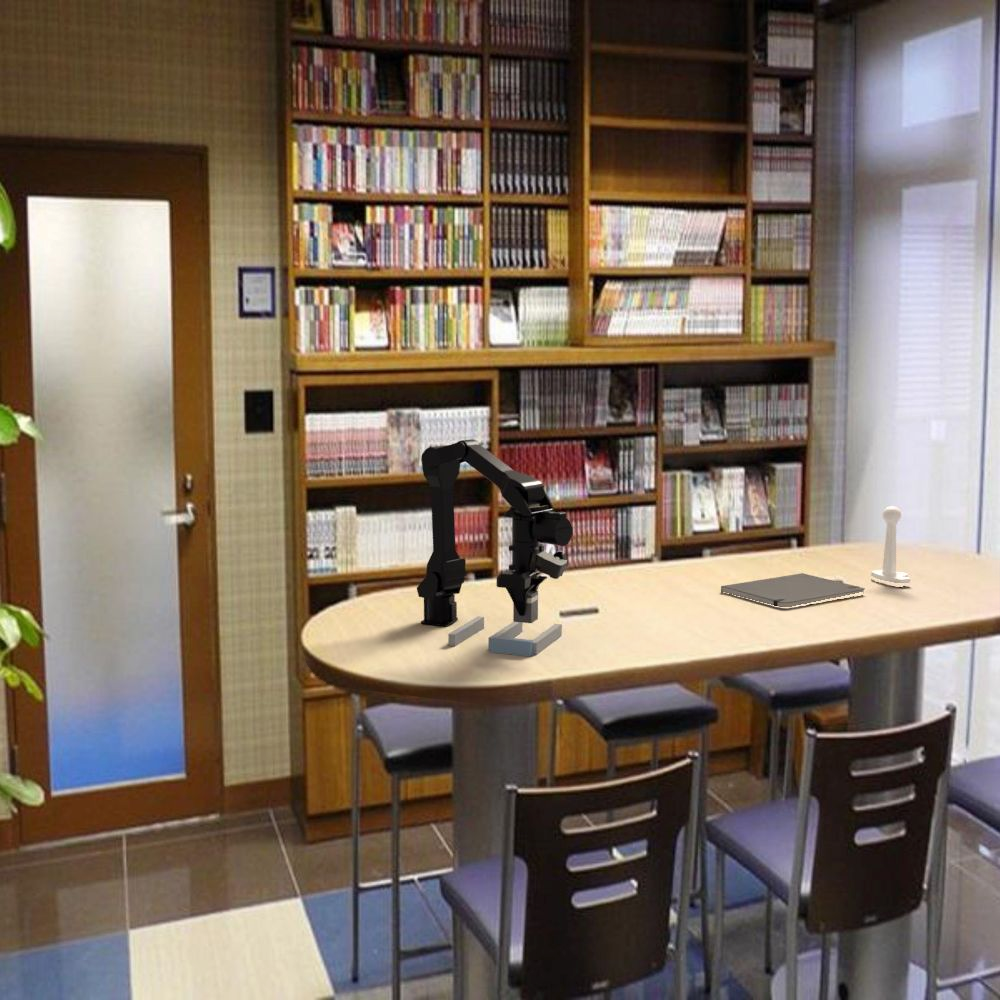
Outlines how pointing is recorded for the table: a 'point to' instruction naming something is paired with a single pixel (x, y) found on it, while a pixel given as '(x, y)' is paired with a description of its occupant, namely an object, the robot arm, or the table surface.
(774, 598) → the notebook
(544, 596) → the table surface
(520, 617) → the grey capped block
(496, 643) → the grey rectangular bars
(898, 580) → the joystick
